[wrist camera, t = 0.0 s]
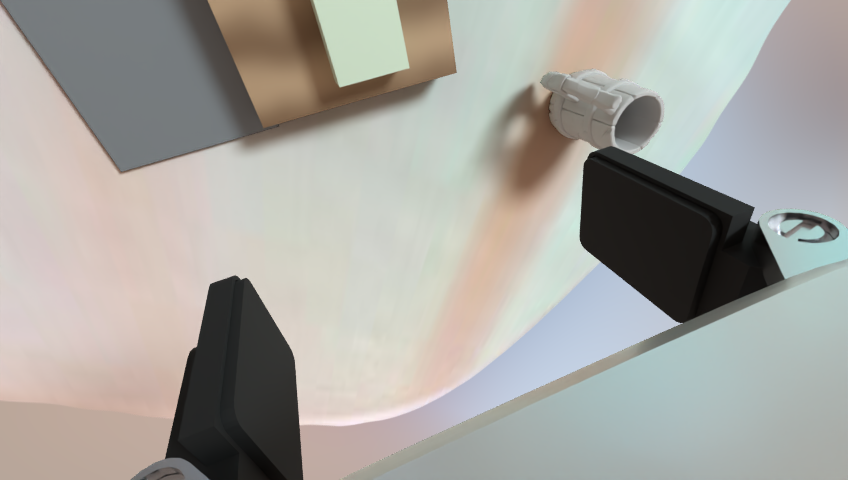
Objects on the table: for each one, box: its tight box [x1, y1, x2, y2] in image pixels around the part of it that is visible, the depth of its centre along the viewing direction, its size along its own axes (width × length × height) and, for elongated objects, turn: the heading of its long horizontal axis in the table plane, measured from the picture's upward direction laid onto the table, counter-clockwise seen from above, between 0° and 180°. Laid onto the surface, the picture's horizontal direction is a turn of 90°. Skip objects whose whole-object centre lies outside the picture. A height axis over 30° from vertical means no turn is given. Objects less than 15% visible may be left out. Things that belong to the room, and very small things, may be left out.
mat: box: [1, 0, 279, 172], centre depth 31 cm, size 15×14×1 cm
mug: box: [540, 69, 664, 154], centre depth 40 cm, size 8×12×12 cm, turn 62°
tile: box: [310, 0, 410, 87], centre depth 30 cm, size 9×6×2 cm, turn 12°
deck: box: [208, 0, 457, 128], centre depth 32 cm, size 13×18×4 cm
